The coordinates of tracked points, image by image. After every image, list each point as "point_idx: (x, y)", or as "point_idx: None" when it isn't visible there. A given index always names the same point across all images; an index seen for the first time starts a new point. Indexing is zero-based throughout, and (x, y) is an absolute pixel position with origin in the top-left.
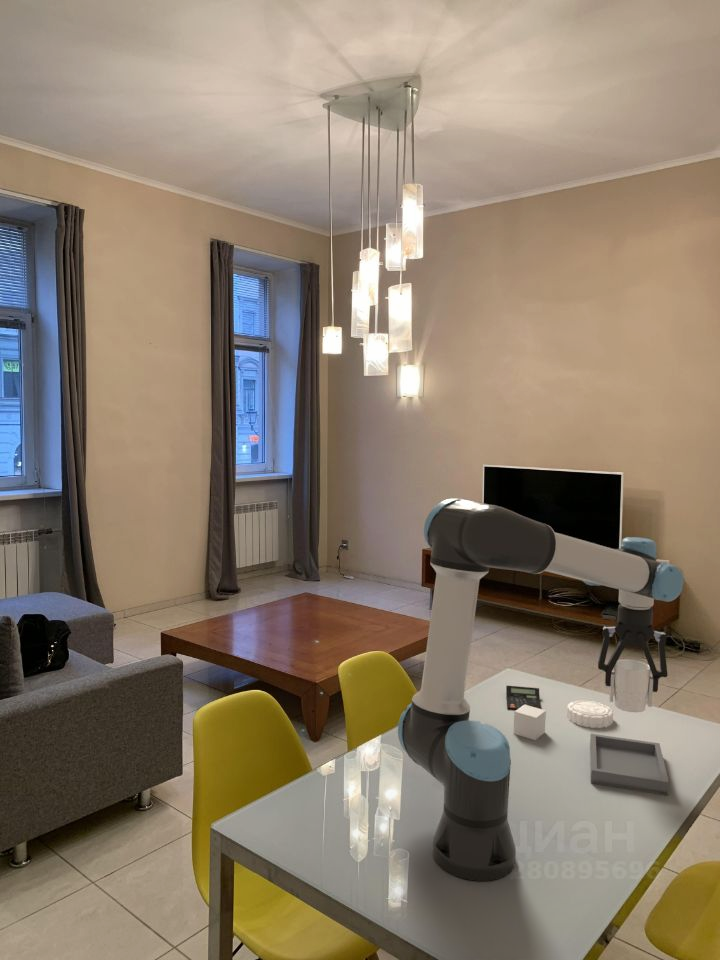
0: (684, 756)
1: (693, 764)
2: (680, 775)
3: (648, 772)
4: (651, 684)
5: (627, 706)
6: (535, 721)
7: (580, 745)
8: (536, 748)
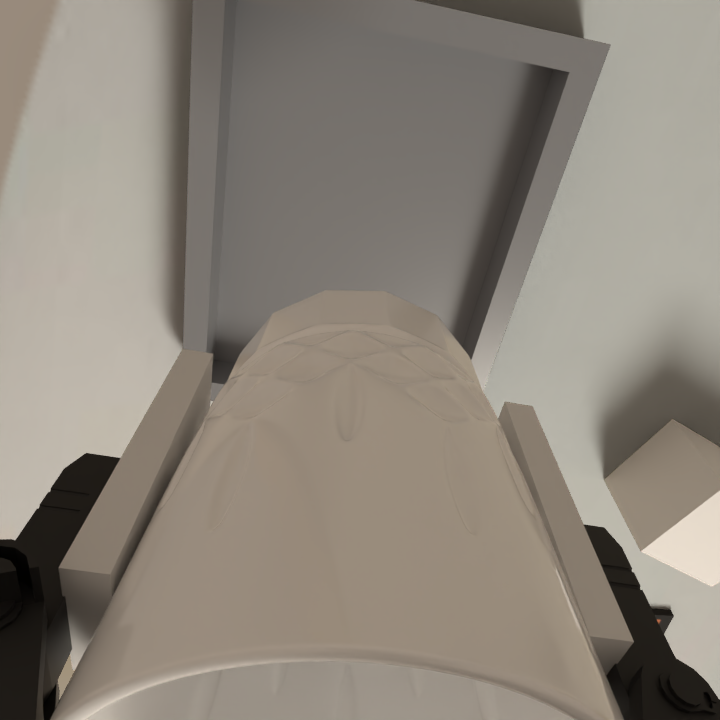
0: (94, 372)
1: (63, 311)
2: (126, 201)
3: (271, 176)
4: (113, 507)
5: (409, 319)
6: (715, 474)
7: (498, 402)
8: (700, 354)
